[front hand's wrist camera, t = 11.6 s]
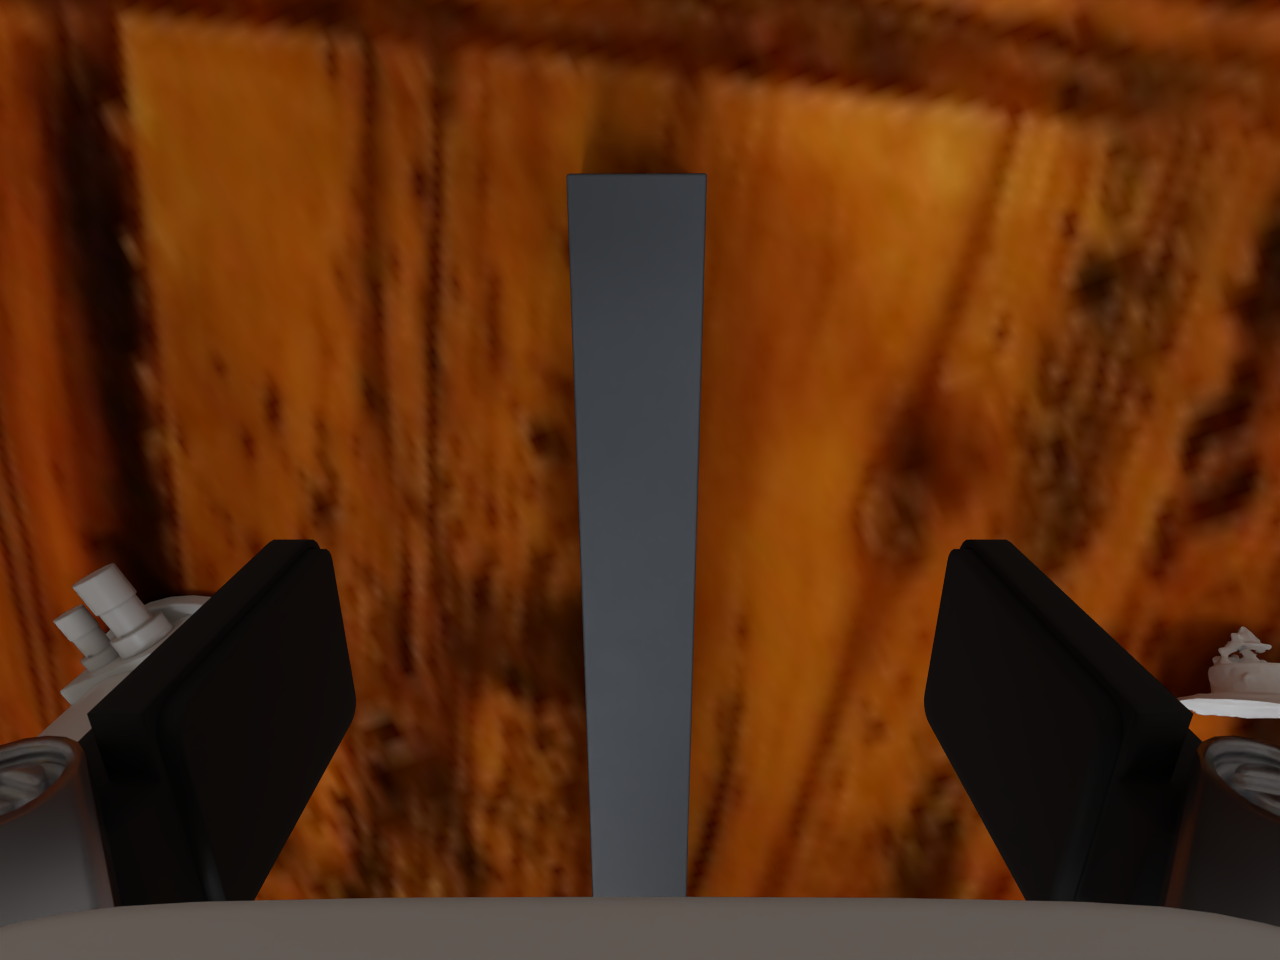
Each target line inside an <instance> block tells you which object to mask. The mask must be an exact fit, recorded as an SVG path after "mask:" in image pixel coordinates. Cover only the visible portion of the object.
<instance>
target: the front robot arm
mask: <svg viewBox="0 0 1280 960" xmlns="http://www.w3.org/2000/svg"><path fill="white" fill-rule="evenodd" d="M72 588H73V589H74V590H75V591H76V593H77V594H78V595H79V596H80V597H81V599H82V600H83V601H84V602H85V603H86V605H87V606H88V607H89V608H90V609H91V611H92V612H93V613H94V614H95V615H96V616H100V617H101V619H102V620H103V621H104V622H105V623H106V625H107V626H108V627H109V628H110V630H109V632H108V633H107V634H105V633H104V632H103V630H102V629H101V628H100V627H99V626H98V625H99V623H98V622H97V621H96V620H95V618H94V617H93V616H92V615H91V614H90V612H89V611H88V610H87V609H86V608H85V606H84V605H83V604H81V605H78V606H76V607H74V608H72V609H70V610H68V611H67V612H65V613H63V614H62V615H60V616H59V617H57V618H56V619H55V620H54V621H53V622H54V623H55V624H56V625H57V627H58V628H59V629H60V630H61V631H62V632H63V634H64V635H65V636H66V637H67V638H68V639H69V641H70V642H71V641H72V642H73V643H74V644H75V645H76V646H77V647H78V649H79V650H80V651H81V652H82V653H83V654H84V656H85V657H84V658H83V659H82V660H81V663H82V664H83V666H84V667H85V668H86V670H85V671H83V672H82V673H81V674H80V675H79V676H78V677H76V678H75V679H74V680H73V681H72V682H71V683H69V684H68V685H67V686H66V687H65V688H64V689H62V690H61V694H62V695H63V697H64V698H65V699H66V700H67V701H68V702H69V703H70V704H71V707H69V708H68V709H67V710H66V711H65V712H64V713H63V714H62V715H61V716H59V717H58V718H57V719H56V720H55V721H54V722H53V723H52V724H51V725H49V726H48V727H47V728H46V729H45V730H44V731H43V732H42V733H41V734H39V735H38V736H37V737H33V738H25V739H21V740H18V741H14V742H11V743H7V744H4V745H0V960H1280V745H1276V744H1273V743H1269V742H1266V741H1262V740H1259V739H1255V738H1247V737H1240V736H1218V737H1213V738H1210V739H1208V740H1205V741H1203V742H1202V741H1201V740H1200V739H1199V738H1198V737H1197V736H1196V735H1195V734H1194V733H1193V732H1192V731H1191V730H1190V729H1189V725H1190V722H1191V719H1192V716H1193V713H1192V712H1191V711H1190V710H1189V709H1188V708H1186V707H1185V706H1184V705H1183V704H1182V703H1181V702H1180V701H1179V700H1178V699H1177V698H1176V697H1175V696H1174V695H1173V694H1172V693H1170V692H1169V691H1168V690H1167V689H1166V688H1165V687H1164V686H1163V685H1162V684H1161V683H1160V682H1159V681H1158V680H1157V679H1156V678H1155V677H1153V676H1152V675H1151V674H1150V673H1149V672H1148V671H1147V670H1146V669H1145V668H1144V667H1143V666H1142V665H1141V664H1140V663H1139V662H1137V661H1136V660H1135V659H1134V658H1133V657H1132V656H1131V655H1130V654H1129V653H1128V652H1127V651H1126V650H1125V649H1124V648H1123V647H1121V646H1120V645H1119V644H1118V643H1117V642H1116V641H1115V640H1114V639H1113V638H1112V637H1111V636H1110V635H1109V634H1108V633H1107V632H1106V631H1104V630H1103V629H1102V628H1101V627H1100V626H1099V625H1098V624H1097V623H1096V622H1095V621H1094V620H1093V619H1092V618H1091V617H1090V616H1088V615H1087V614H1086V613H1085V612H1084V611H1083V610H1082V609H1081V608H1080V607H1079V606H1078V605H1077V604H1076V603H1075V602H1074V601H1072V600H1071V599H1070V598H1069V597H1068V596H1067V595H1066V594H1065V593H1064V592H1063V591H1062V590H1061V589H1060V588H1059V587H1058V586H1057V585H1055V584H1054V583H1053V582H1052V581H1051V580H1050V579H1049V578H1048V577H1047V576H1046V575H1045V574H1044V573H1043V572H1042V571H1041V570H1039V569H1038V568H1037V567H1036V566H1035V565H1034V564H1033V563H1032V562H1031V561H1030V560H1029V559H1028V558H1027V557H1026V556H1025V555H1023V554H1022V553H1021V552H1020V551H1019V550H1018V549H1017V548H1016V547H1015V546H1014V545H1013V544H1012V543H1011V542H1009V541H1007V540H966V541H964V542H963V544H962V545H961V547H960V549H953V550H952V551H951V552H950V554H949V557H948V561H947V567H946V573H945V579H944V585H943V590H942V596H941V602H940V608H939V614H938V619H937V625H936V631H935V637H934V643H933V649H932V654H931V660H930V666H929V672H928V678H927V684H926V689H925V696H924V707H925V713H926V717H927V720H928V722H929V724H930V726H931V728H932V729H933V731H934V733H935V735H936V737H937V739H938V740H939V742H940V744H941V746H942V748H943V750H944V751H945V753H946V755H947V757H948V759H949V761H950V762H951V764H952V766H953V768H954V770H955V772H956V773H957V775H958V777H959V779H960V781H961V783H962V784H963V786H964V788H965V790H966V792H967V794H968V795H969V797H970V799H971V801H972V803H973V804H974V806H975V808H976V810H977V812H978V814H979V815H980V817H981V819H982V821H983V823H984V825H985V826H986V828H987V830H988V832H989V834H990V836H991V837H992V839H993V841H994V843H995V845H996V847H997V848H998V850H999V852H1000V854H1001V856H1002V858H1003V859H1004V861H1005V863H1006V865H1007V867H1008V868H1009V870H1010V872H1011V874H1012V876H1013V878H1014V879H1015V881H1016V883H1017V885H1018V887H1019V889H1020V890H1021V892H1022V894H1023V896H1024V898H1025V900H1026V901H1017V900H966V899H916V898H788V897H492V898H364V899H314V900H263V901H254V900H255V898H256V896H257V894H258V892H259V890H260V889H261V887H262V885H263V883H264V881H265V879H266V878H267V876H268V874H269V872H270V870H271V868H272V867H273V865H274V863H275V861H276V859H277V858H278V856H279V854H280V852H281V850H282V848H283V847H284V845H285V843H286V841H287V839H288V837H289V836H290V834H291V832H292V830H293V828H294V826H295V825H296V823H297V821H298V819H299V817H300V815H301V814H302V812H303V810H304V808H305V806H306V804H307V803H308V801H309V799H310V797H311V795H312V794H313V792H314V790H315V788H316V786H317V784H318V783H319V781H320V779H321V777H322V775H323V773H324V772H325V770H326V768H327V766H328V764H329V762H330V761H331V759H332V757H333V755H334V753H335V751H336V750H337V748H338V746H339V744H340V742H341V740H342V739H343V737H344V735H345V733H346V731H347V729H348V728H349V726H350V724H351V722H352V720H353V717H354V713H355V707H356V696H355V689H354V684H353V678H352V672H351V666H350V660H349V654H348V649H347V643H346V637H345V631H344V625H343V619H342V614H341V608H340V602H339V596H338V590H337V585H336V579H335V573H334V567H333V561H332V557H331V554H330V552H329V551H328V550H327V549H320V547H319V545H318V544H317V542H316V541H314V540H273V541H271V542H269V543H268V544H267V545H266V546H265V547H264V548H263V549H262V550H261V551H260V552H259V553H258V554H257V555H255V556H254V557H253V558H252V559H251V560H250V561H249V562H248V563H247V564H246V565H245V566H244V567H243V568H242V569H241V570H239V571H238V572H237V573H236V574H235V575H234V576H233V577H232V578H231V579H230V580H229V581H228V582H227V583H226V584H225V585H223V586H222V587H221V588H220V589H219V590H218V591H217V592H216V593H215V594H214V595H213V596H212V597H208V596H197V595H188V596H175V597H168V598H164V599H161V600H157V601H153V602H150V603H148V604H146V605H144V604H143V603H142V602H141V600H140V599H139V598H138V597H137V595H136V592H137V591H136V590H135V588H134V587H133V586H132V585H131V583H130V582H129V581H128V580H127V578H126V577H125V576H124V575H123V573H122V572H121V571H120V570H119V568H118V567H117V566H116V565H115V563H111V564H109V565H106V566H104V567H102V568H100V569H98V570H96V571H94V572H93V573H91V574H89V575H87V576H86V577H84V578H82V579H81V580H79V581H78V582H76V583H75V584H74V585H72Z"/></svg>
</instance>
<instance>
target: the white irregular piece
mask: <svg viewBox="0 0 1280 960" xmlns="http://www.w3.org/2000/svg"><path fill="white" fill-rule="evenodd" d="M1271 647H1272V646H1271V645H1269V644H1262V643H1260V640H1259V639H1258V638H1256V637H1255V636H1254V635H1253V633H1252V632H1250V631H1249V630H1248V629H1247V628H1245V627H1241V628H1240V629H1239V630H1238V632H1237V633H1231V641H1228V642H1227V644H1226V645H1225V646H1224V647H1222V648H1219V649H1218V652H1219V653H1220V654H1221V656H1215V657H1213V658H1212V661H1213V663H1214V666H1212V667H1210V668H1209V670H1208V677H1209V681H1210V686H1211V693H1209V694H1195V695H1192V696H1185V697H1179V698H1177V699H1178V700H1179V701H1180V702H1181V703H1182V704H1183V705H1184V706H1185V707H1186V708H1188V709H1189V710H1193V711H1196V713H1197V714H1202V715H1218V716H1231V717H1235V716H1237V717H1242V718H1280V663H1268V662H1266V661H1265V660H1259V659H1258V658H1257V657H1256V655H1257V654H1254V653H1253V652H1251V651H1250V650H1251V649H1253V650H1256V651H1255V652H1256V653H1263V652H1265V651H1266V650H1267V649H1268V650H1270V649H1271ZM1238 650H1239V651H1240V652H1239V653H1242V655H1243V657H1242V658H1241V659H1239V656H1238V655H1234V654H1233V655H1231V657H1228V655H1230V654H1231V653H1234V652H1236V651H1238Z"/></svg>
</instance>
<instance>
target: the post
mask: <svg viewBox="0 0 1280 960" xmlns="http://www.w3.org/2000/svg"><path fill="white" fill-rule="evenodd" d="M566 177H567V205H568V232H569V260H570V287H571V315H572V342H573V370H574V397H575V425H576V452H577V480H578V507H579V535H580V563H581V590H582V618H583V645H584V673H585V700H586V728H587V755H588V783H589V810H590V838H591V865H592V893H593V897H686V888H687V853H688V818H689V783H690V748H691V713H692V678H693V643H694V608H695V573H696V538H697V503H698V468H699V433H700V398H701V363H702V328H703V293H704V258H705V223H706V188H707V175H706V174H705V173H657V174H567V176H566Z"/></svg>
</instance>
